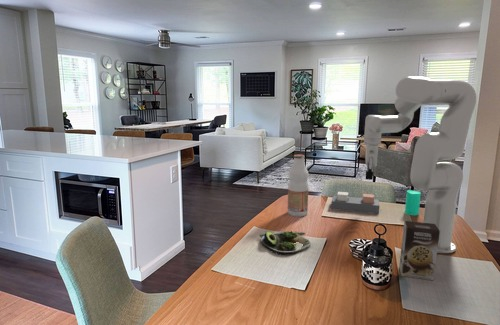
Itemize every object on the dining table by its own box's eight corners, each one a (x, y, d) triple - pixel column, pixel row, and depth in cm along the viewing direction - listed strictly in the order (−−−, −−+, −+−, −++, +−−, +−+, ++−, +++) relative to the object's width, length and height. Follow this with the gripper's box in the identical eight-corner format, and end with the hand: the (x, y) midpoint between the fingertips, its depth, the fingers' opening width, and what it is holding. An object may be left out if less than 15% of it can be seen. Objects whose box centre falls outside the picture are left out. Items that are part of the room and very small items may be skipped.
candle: (401, 212, 160) (404, 187, 157) (410, 210, 162) (413, 186, 160) (412, 216, 154) (415, 191, 152) (421, 214, 157) (424, 189, 155)
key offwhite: (347, 199, 168) (348, 192, 168) (347, 202, 164) (347, 195, 163) (337, 198, 170) (338, 191, 169) (337, 201, 165) (337, 194, 164)
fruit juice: (291, 217, 152) (292, 157, 147) (284, 211, 161) (285, 153, 156) (310, 216, 154) (312, 156, 149) (303, 209, 163) (304, 153, 158)
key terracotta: (373, 201, 165) (373, 194, 164) (373, 204, 160) (374, 197, 159) (362, 200, 166) (363, 193, 165) (362, 203, 161) (363, 196, 161)
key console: (377, 207, 167) (378, 199, 166) (378, 213, 158) (379, 205, 157) (332, 202, 174) (333, 195, 173) (331, 208, 164) (331, 201, 163)
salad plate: (291, 230, 139) (291, 219, 138) (322, 246, 125) (323, 234, 124) (252, 241, 129) (252, 229, 128) (282, 259, 114) (282, 247, 113)
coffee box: (401, 276, 103) (406, 227, 100) (399, 266, 109) (403, 219, 106) (434, 281, 100) (440, 230, 97) (430, 270, 106) (435, 222, 103)
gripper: (381, 144, 149) (377, 183, 153) (379, 139, 163) (376, 176, 167) (363, 143, 151) (360, 182, 155) (363, 138, 165) (360, 174, 169)
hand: (368, 179), depth 161 cm, fingers closed
